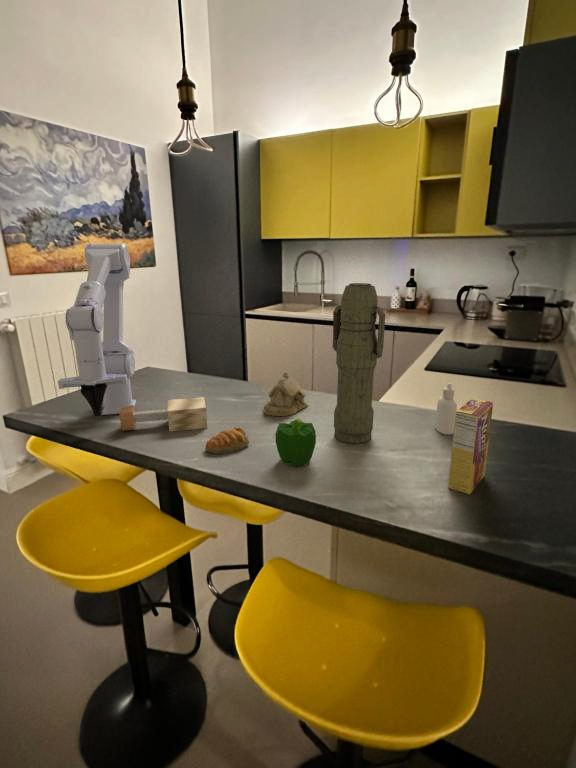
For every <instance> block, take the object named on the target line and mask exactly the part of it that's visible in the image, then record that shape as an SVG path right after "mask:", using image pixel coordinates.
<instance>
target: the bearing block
mask: <svg viewBox="0 0 576 768" xmlns="http://www.w3.org/2000/svg"><path fill="white" fill-rule="evenodd" d="M206 405H207V404H206V402H205V397H204V396H202V397H190V398H178V399H177V398H175V399H168V400H167V409H168V419H167V420H168V421H167V422H168V430H169V432H176V431H177V432H179V431H180V432H181V431H189V430H198V429H199V430H200V429H207V428H208V419H207V406H206Z"/></svg>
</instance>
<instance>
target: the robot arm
mask: <svg viewBox="0 0 576 768" xmlns="http://www.w3.org/2000/svg"><path fill="white" fill-rule="evenodd" d="M84 259H85V262H86V264H87V266H88V272H87V278H86V281H84V282H82V283H81V284H80V285H79V287H78V292H77V294H76V297H75V301H74V303H73V305H72V306H70V307H69V308H68V309H67V310H66V311H65V326H66V328H67V330H68V332H69V336H70V337H69V338H70V340H71V341H73V345H74V346H73V347H74V353H75V359H76V365H77V372H78V376H72V377H71V376H70V377H64V378H63V377H62V378H61V377H60V378H59V379H58V380H57V387H58V389H59V390H64V389H65V388H67V389H68V388H77V387H78V388H79V387H80V393H81V395H82V396H83V397H84V399H85V400H86V402H87V403H88V404H89V406H90V409H91V410H92V413H93V416H94V417H101V416H104V415H105V416H106V415H117V414H118V415H119V412H120V409H121V406H132V405H134V407H135V406H136V402H137V400H136V399H133V394H132V386H131V385H132V384H131V379H130V378H132V376H133V375H134V374H135V372H136V371H135V370H136V362H135V357H134V356H135V355H134V353H135V352H134V351H133V349H132V347H130V346H129V345H128V344H126V343H125V342H124V340H123V339H124V338H123V337H124V336H123V331H124V328H123V327H124V326H123V325H124V323H123V322H124V319H123V318H124V312H123V311H124V307H123V305H124V284H125V281H126V280H128V279H130V274H131V257H130V250H129V248H128V246H127V245H126V244H125V243H124V242H123V243H121V242H120V243H91V242H88V243H87V244H86V245H85V247H84ZM102 330H103V335H102V334H101V332H102ZM102 336H103V337H102ZM102 339H103V340H102ZM103 405H104V407H103ZM135 408H136V407H135Z"/></svg>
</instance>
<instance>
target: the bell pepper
mask: <svg viewBox="0 0 576 768" xmlns="http://www.w3.org/2000/svg"><path fill="white" fill-rule="evenodd" d="M316 432H317V431H316V429H315V426H314V424H313V422H304V421H303V420H302V419H300V418H299V417H298V418H295V419H294V420H292V421H290V422H289V423H286V422H281V423H280V422H279V423H278V425H277V428H276V430H275V445H276V449H277V453H278V456H279V458H280V460H281V461H282V463H283V464H290V465H291V466H294V467H303V466H306V465H308V464H309V462H310V461H311V459H312V457H313V455H314V451H315V447H316V442H317V441H316V439H317V434H316Z"/></svg>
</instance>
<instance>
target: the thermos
mask: <svg viewBox="0 0 576 768" xmlns="http://www.w3.org/2000/svg"><path fill="white" fill-rule="evenodd" d="M340 299H341V300H340V305H337V306H336V307H335V309H334V310H333V314H332V315H333V316H332V320H333V321H332V324H333V325H332V329H333V330H332V331H333V332H332V333H333V334H332V335H333V336H332V338H333V339H332V349H333V350H334V352H336V357H335V358H336V361H335V364H336V366H337V395H336V405H335V407H334V410H333V412H334V413H333V428H334V435H333V437H334V440H336V441H337V442H338V443H340V444H344V445H346V446H347V445H348V446H362V445H366V444H368V443H370V442H371V441H372V432H373V428H374V416H375V415H374V407H373V389H374V374H375V368H376V366H377V361H378V360H377V359H380V358H382V356H383V352H384V341H385V339H384V338H385V327H386V326H385V325H386V314H385V312H384V310H383V308H382V307H381V308H380V306H378V301H379V300H378V299H379V298H378V295H377V289H376V287H375V285H372V283H368V282H367V283H364V282H363V283H362V282H352V283H349V284H348V285H345V287H344V289H343V292H342V296H341V298H340ZM377 315H378V317H379V318H378V329H376V323H377ZM376 332H377V334H376Z"/></svg>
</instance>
